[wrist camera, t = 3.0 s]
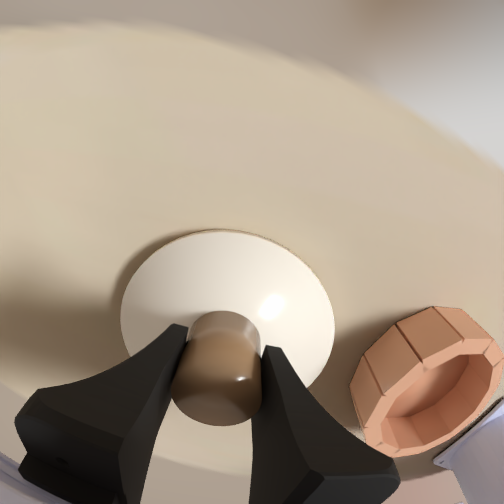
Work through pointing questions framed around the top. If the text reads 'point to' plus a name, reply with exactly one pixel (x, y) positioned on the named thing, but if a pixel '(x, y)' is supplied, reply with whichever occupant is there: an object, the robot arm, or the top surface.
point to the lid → (228, 318)
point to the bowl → (425, 381)
